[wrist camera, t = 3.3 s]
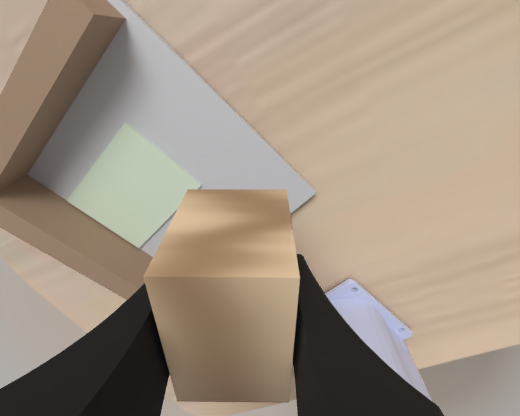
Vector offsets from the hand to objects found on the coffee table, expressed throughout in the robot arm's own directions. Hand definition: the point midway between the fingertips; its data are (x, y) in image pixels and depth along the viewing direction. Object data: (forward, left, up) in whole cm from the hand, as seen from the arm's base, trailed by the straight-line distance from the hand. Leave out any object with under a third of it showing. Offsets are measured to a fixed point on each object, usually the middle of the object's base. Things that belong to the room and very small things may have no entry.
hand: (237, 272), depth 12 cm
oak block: (0, 0, -1) cm, 1 cm away
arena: (+5, +4, -8) cm, 11 cm away
